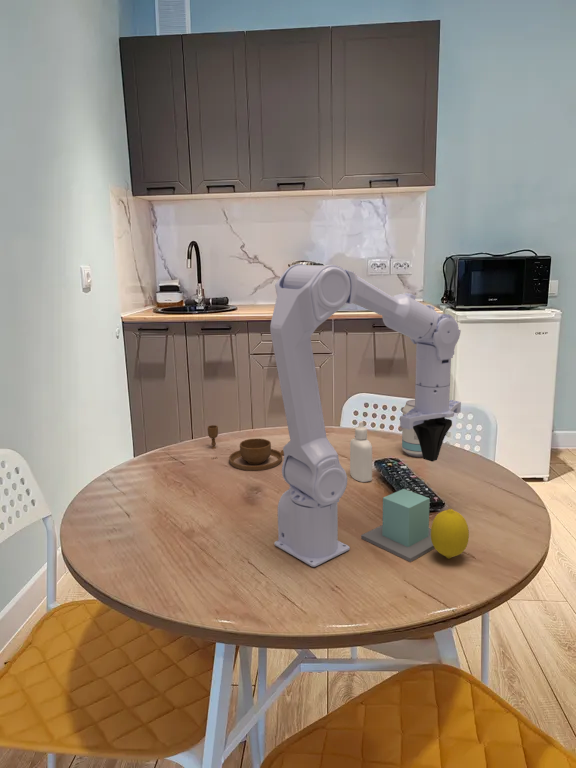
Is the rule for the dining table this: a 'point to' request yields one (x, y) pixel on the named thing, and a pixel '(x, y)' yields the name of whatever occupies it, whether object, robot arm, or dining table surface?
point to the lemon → (449, 533)
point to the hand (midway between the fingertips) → (430, 459)
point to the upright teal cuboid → (405, 517)
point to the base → (397, 548)
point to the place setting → (250, 452)
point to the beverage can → (410, 435)
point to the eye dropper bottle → (361, 455)
